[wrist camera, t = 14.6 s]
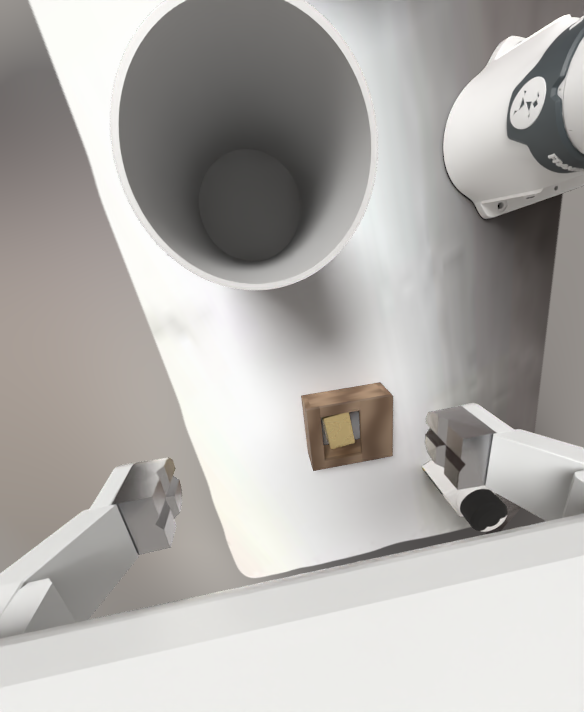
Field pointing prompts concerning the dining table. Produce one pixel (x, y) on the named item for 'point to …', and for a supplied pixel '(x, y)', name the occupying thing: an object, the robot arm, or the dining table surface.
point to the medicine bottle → (469, 500)
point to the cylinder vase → (244, 138)
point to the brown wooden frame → (373, 424)
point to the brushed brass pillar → (338, 430)
